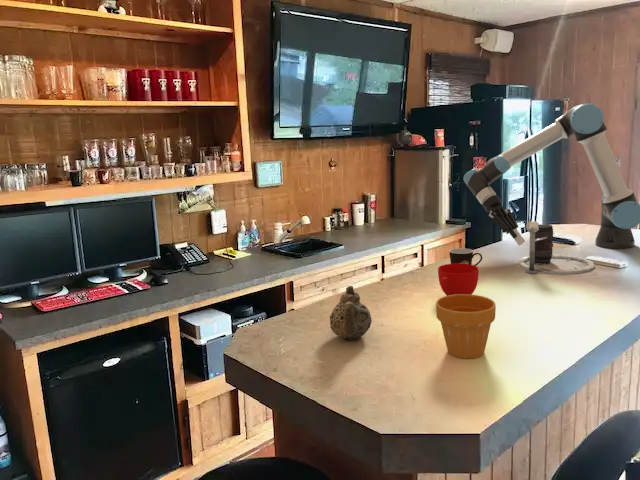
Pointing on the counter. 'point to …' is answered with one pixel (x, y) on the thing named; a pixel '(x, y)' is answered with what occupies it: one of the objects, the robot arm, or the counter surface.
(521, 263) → the grey flat ring
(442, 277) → the ceramic cup
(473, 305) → the flower pot
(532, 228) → the metal stand with knob
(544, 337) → the counter surface
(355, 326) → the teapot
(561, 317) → the counter surface
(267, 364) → the counter surface
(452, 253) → the coffee mug
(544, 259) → the camera lens
